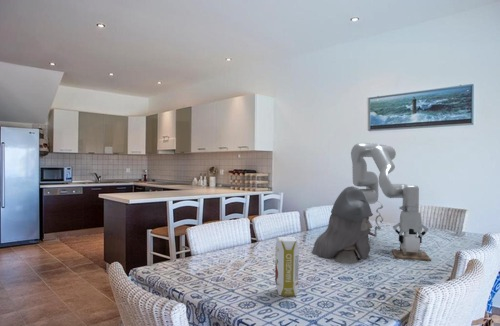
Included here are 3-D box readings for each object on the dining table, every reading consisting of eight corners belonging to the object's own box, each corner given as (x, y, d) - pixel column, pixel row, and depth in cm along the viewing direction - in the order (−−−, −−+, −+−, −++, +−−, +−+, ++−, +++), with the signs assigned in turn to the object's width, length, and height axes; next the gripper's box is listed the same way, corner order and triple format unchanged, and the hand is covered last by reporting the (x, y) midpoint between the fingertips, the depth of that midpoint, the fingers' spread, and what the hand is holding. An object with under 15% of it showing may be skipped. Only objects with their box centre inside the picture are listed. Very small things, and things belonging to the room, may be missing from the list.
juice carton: (294, 288, 124) (295, 236, 124) (299, 297, 116) (299, 241, 116) (274, 288, 124) (275, 236, 124) (277, 297, 115) (277, 241, 116)
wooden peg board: (395, 258, 168) (395, 249, 168) (391, 250, 183) (391, 242, 183) (431, 261, 163) (431, 252, 163) (424, 253, 179) (424, 244, 179)
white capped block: (414, 248, 177) (414, 225, 177) (420, 252, 169) (420, 228, 170) (400, 248, 177) (400, 225, 177) (405, 251, 170) (405, 227, 170)
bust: (387, 266, 154) (387, 189, 155) (311, 261, 160) (312, 187, 161) (374, 248, 187) (374, 185, 188) (311, 245, 194) (312, 184, 194)
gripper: (393, 209, 172) (392, 243, 172) (431, 211, 168) (430, 246, 167) (391, 207, 180) (390, 240, 180) (427, 209, 175) (427, 243, 175)
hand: (410, 243), depth 173 cm, fingers closed on white capped block, 7 cm apart
